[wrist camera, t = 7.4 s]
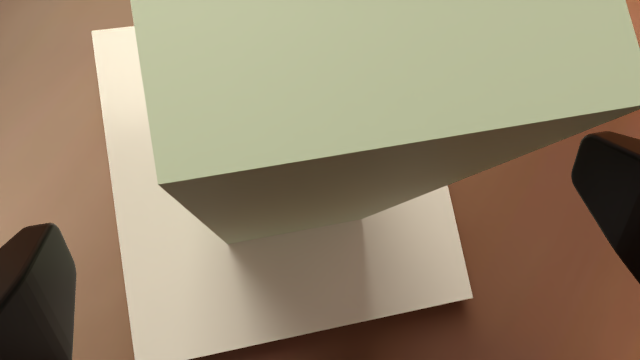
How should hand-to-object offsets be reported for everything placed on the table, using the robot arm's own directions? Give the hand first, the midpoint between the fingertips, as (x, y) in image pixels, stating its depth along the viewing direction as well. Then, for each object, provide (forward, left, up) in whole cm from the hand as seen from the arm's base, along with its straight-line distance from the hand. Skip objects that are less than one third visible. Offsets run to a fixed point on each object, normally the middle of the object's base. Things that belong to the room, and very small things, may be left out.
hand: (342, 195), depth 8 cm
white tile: (+2, 0, -9) cm, 9 cm away
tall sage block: (+2, 0, -8) cm, 9 cm away
